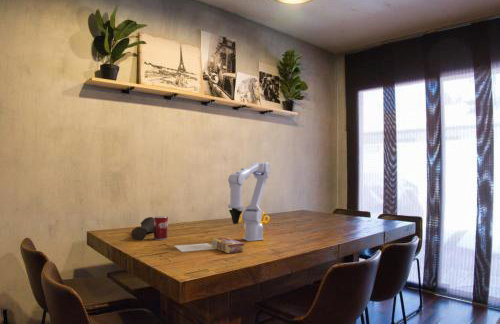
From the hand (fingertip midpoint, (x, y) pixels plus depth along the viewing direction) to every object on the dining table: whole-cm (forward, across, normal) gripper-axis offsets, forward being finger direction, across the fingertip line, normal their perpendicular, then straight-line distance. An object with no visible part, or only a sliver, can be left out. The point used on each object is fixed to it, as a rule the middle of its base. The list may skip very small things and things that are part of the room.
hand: (235, 223), depth 173 cm
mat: (+10, 0, -21) cm, 23 cm away
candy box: (+8, +2, -9) cm, 13 cm away
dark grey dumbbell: (+11, -41, -37) cm, 56 cm away
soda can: (+11, -28, -32) cm, 43 cm away
